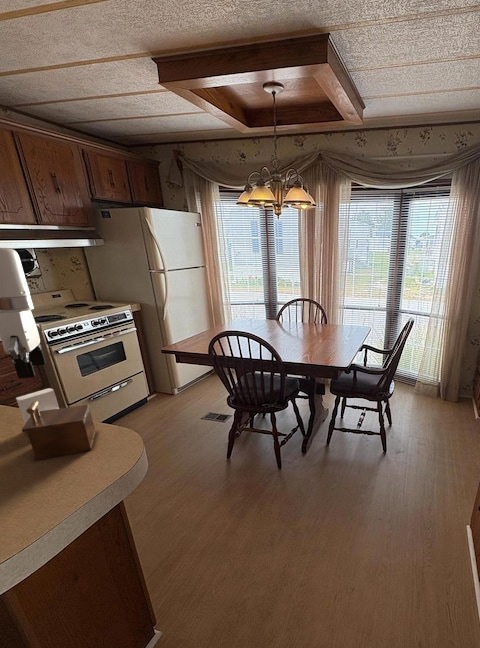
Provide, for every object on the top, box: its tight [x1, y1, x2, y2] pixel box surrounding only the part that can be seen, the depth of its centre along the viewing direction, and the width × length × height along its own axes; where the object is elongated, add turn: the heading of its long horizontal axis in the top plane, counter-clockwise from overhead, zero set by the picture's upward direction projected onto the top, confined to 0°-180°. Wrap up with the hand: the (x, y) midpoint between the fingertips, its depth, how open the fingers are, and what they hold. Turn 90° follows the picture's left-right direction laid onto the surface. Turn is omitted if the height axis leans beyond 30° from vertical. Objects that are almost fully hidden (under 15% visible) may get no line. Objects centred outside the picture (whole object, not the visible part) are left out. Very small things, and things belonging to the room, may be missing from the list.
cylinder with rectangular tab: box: [15, 387, 60, 425], centre depth 105 cm, size 9×9×12 cm
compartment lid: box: [21, 401, 90, 433], centre depth 95 cm, size 13×11×5 cm
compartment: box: [26, 407, 97, 461], centre depth 98 cm, size 13×11×9 cm
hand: (33, 370), depth 87 cm, fingers open, 9 cm apart
